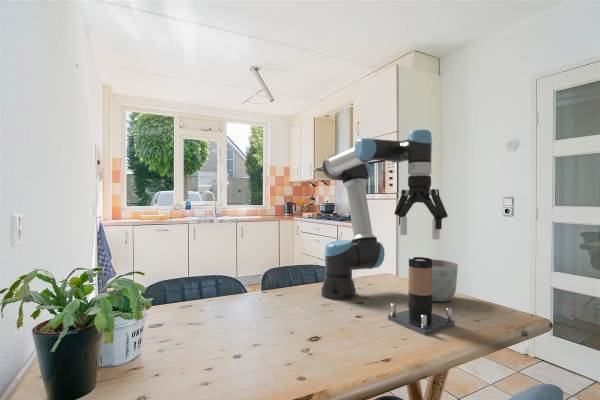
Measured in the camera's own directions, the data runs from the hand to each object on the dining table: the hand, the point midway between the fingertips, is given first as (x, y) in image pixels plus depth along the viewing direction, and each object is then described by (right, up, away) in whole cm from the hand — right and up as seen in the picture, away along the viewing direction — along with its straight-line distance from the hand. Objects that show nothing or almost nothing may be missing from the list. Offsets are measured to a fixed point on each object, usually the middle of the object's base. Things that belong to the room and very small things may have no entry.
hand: (418, 237), depth 110 cm
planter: (+16, -29, +24) cm, 41 cm away
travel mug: (0, -27, -2) cm, 27 cm away
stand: (0, -29, -2) cm, 29 cm away
